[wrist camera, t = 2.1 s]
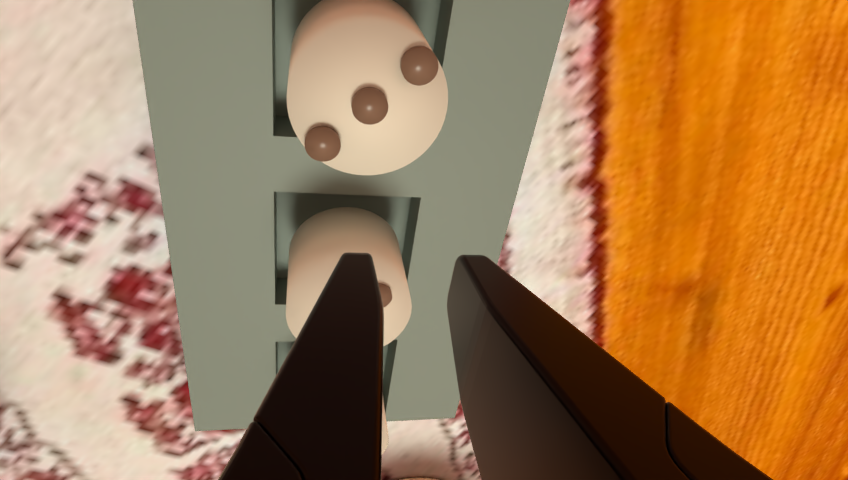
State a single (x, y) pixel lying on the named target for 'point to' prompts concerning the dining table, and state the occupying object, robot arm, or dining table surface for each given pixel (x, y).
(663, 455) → the robot arm
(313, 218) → the button two
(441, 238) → the board
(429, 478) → the teacup with lid
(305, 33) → the button three
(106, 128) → the dining table surface
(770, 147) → the dining table surface
